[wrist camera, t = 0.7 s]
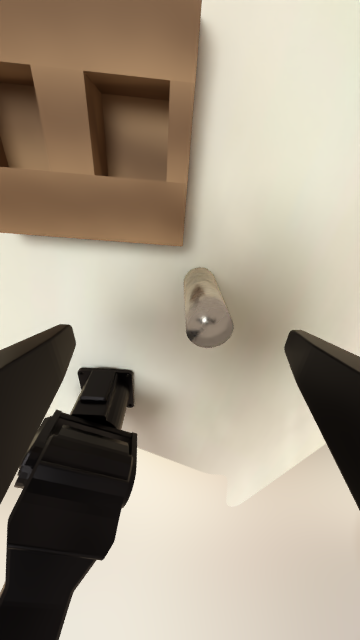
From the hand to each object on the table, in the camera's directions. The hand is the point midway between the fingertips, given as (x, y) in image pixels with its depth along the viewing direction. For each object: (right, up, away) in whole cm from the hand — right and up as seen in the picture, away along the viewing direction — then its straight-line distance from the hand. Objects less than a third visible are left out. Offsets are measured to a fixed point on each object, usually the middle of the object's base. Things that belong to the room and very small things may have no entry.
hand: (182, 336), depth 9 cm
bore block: (-6, +13, +6) cm, 16 cm away
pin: (+2, +4, +12) cm, 12 cm away
